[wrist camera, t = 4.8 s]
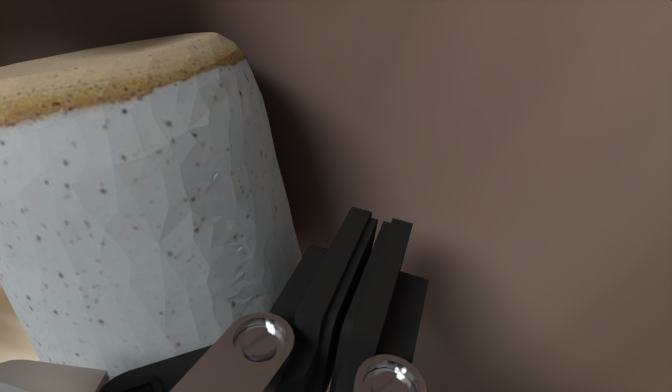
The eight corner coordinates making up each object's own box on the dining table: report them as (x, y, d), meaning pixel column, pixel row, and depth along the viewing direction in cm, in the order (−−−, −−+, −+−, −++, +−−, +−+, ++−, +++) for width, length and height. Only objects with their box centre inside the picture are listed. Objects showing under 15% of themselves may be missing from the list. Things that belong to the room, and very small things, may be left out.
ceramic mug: (291, 3, 12) (44, 85, 6) (342, 251, 15) (230, 465, 9) (27, 50, 16) (-292, 128, 9) (119, 238, 19) (-65, 383, 13)
